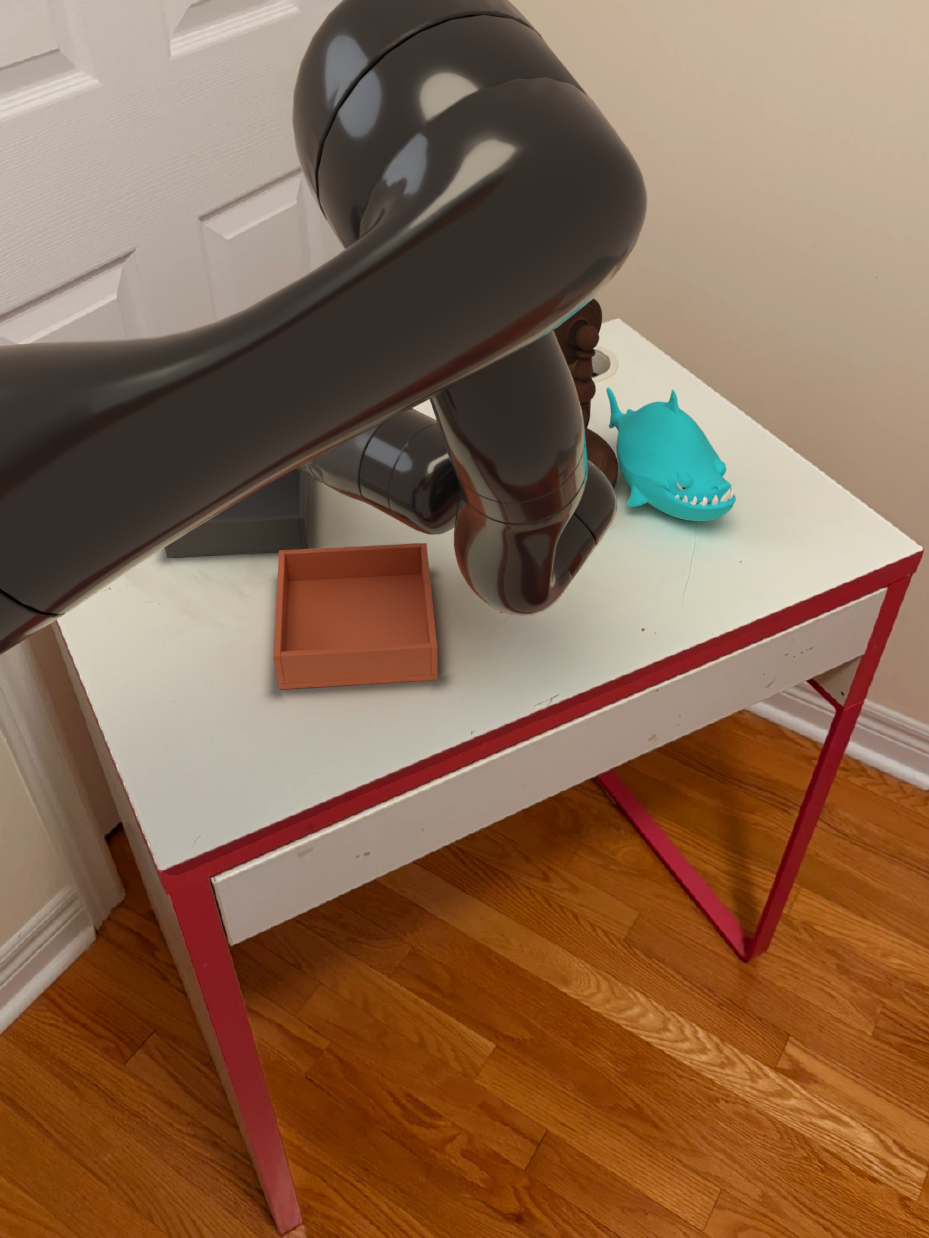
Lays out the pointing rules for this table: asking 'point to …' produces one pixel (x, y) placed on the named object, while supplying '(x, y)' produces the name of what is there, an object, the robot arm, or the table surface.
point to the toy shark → (670, 461)
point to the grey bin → (254, 522)
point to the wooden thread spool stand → (587, 378)
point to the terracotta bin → (354, 616)
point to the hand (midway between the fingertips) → (187, 352)
